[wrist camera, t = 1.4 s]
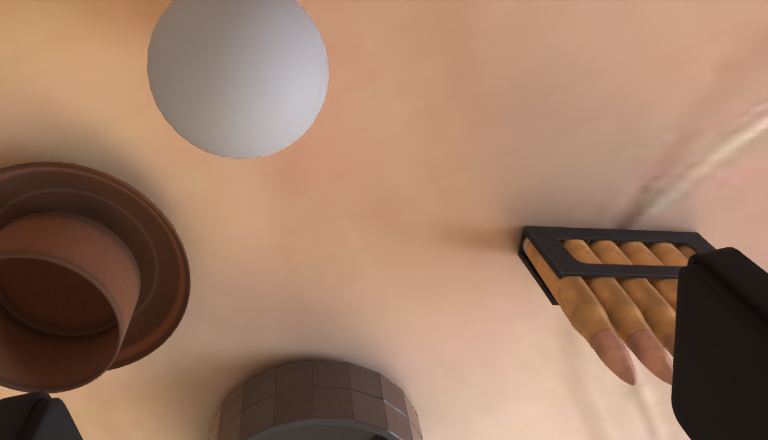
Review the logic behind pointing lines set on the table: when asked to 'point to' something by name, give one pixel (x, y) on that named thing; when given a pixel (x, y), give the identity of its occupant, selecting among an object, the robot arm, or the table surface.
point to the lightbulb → (238, 74)
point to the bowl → (317, 406)
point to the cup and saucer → (82, 276)
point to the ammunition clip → (615, 288)
